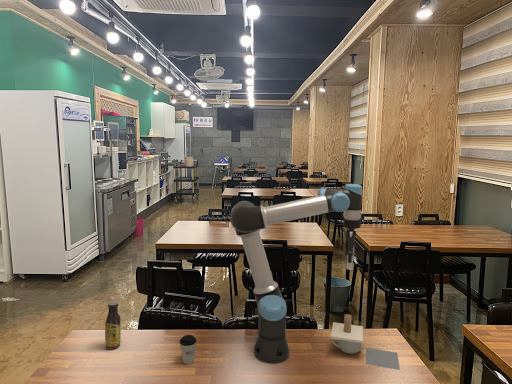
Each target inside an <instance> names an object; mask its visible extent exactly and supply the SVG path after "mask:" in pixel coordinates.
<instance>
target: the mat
mask: <svg viewBox="0 0 512 384" xmlns="http://www.w3.org/2000/svg"><path fill="white" fill-rule="evenodd" d="M365 365H369V366H374V367H381V368H386V369H393V370H399V371H401V369H400V368H401V367H400V362H399V355H398V352H396V351H391V350H383V349H377V348H373V347H372V348H371V347H370V348H369V347H365Z"/></svg>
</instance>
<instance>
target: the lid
mask: <svg viewBox="0 0 512 384" xmlns="http://www.w3.org/2000/svg"><path fill="white" fill-rule="evenodd" d="M352 317H353V316H352V314H349V313H348V314H344V317H343V323H341V322H334V321H333V322H332V328H331V334H330V340H331V339H334V340H337V339H338V340H344V341H351V342H358V343H362V344H364V325H355V324H352V321H353V320H352V319H353V318H352Z"/></svg>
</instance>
